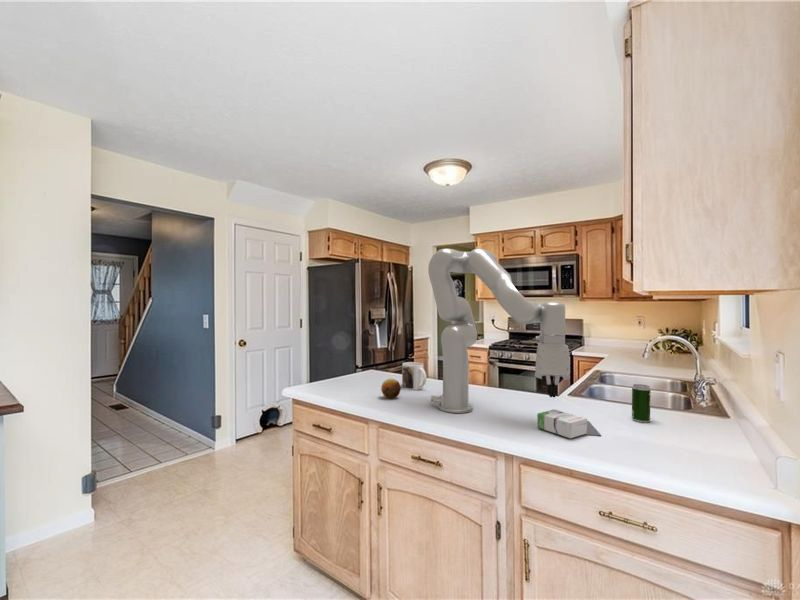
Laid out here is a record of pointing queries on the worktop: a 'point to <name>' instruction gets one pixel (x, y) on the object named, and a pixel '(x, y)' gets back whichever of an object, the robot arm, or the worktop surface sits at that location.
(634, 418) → the beer can
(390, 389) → the fruit
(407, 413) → the worktop surface
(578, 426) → the ink box
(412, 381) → the mug
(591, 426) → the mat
